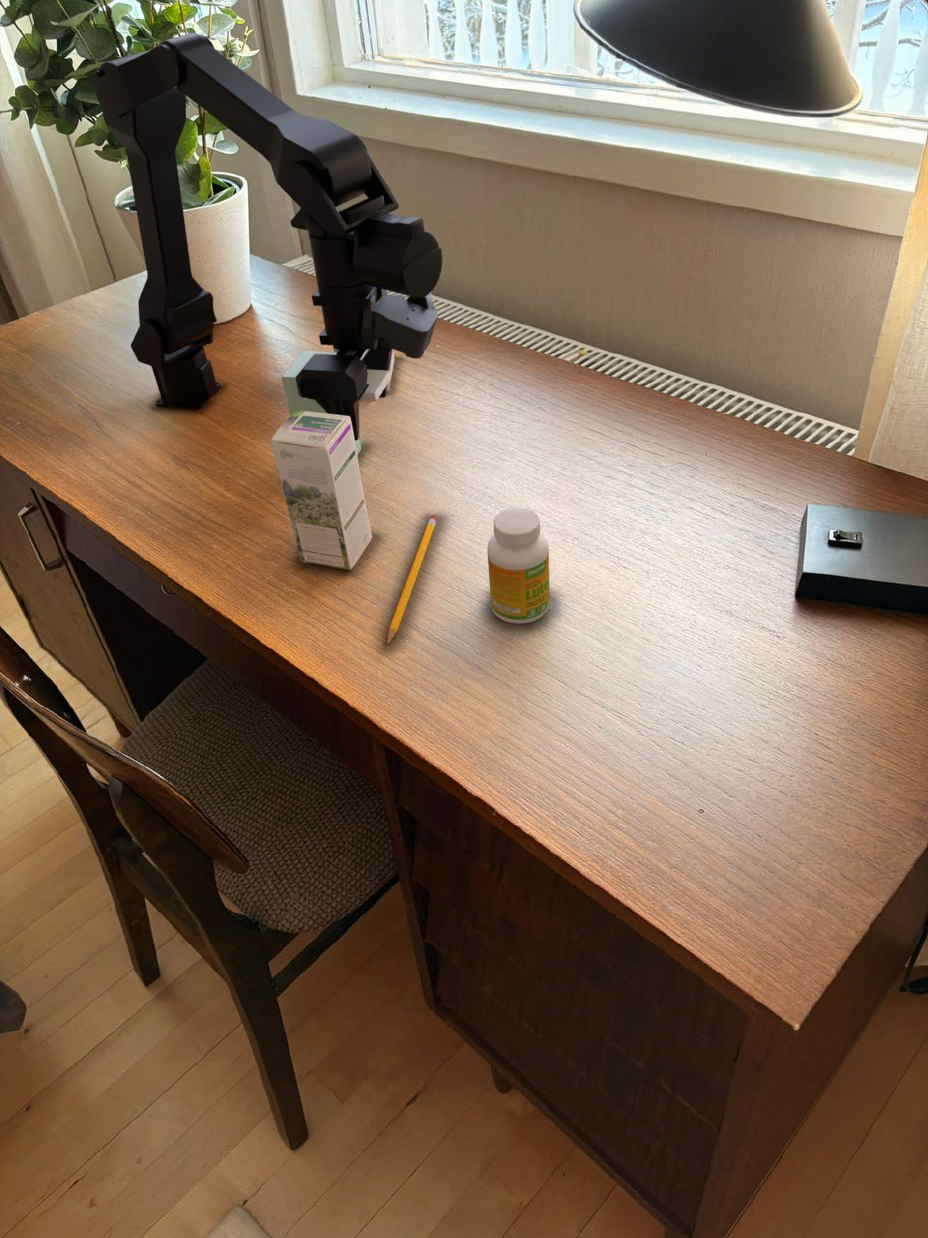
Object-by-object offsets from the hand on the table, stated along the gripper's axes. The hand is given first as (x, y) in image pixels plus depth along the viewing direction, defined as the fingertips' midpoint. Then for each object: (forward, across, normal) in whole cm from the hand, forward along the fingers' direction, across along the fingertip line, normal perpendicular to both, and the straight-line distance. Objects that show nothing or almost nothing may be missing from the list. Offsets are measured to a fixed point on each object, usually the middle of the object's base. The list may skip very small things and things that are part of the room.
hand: (367, 417), depth 103 cm
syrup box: (+6, -16, -1) cm, 17 cm away
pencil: (+6, -19, -10) cm, 22 cm away
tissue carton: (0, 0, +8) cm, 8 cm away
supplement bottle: (+6, -21, -21) cm, 31 cm away
